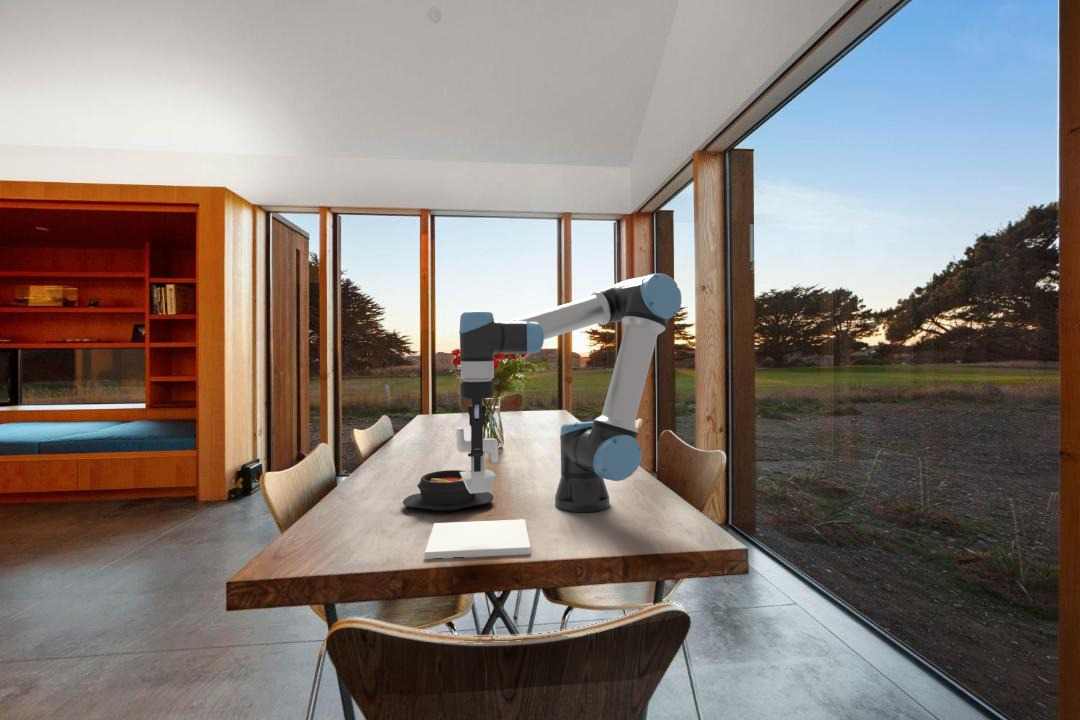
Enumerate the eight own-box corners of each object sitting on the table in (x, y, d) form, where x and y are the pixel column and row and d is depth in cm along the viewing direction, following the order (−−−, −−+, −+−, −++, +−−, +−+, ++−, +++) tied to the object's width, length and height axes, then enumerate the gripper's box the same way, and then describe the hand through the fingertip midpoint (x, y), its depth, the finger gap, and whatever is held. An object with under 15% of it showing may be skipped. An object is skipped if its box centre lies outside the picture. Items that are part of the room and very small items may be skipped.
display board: (524, 525, 127) (524, 519, 127) (530, 554, 109) (530, 547, 109) (434, 529, 125) (434, 523, 125) (424, 559, 107) (424, 552, 107)
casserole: (493, 494, 154) (493, 467, 154) (493, 514, 136) (493, 483, 135) (408, 497, 152) (408, 469, 152) (397, 518, 133) (396, 486, 133)
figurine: (502, 492, 114) (501, 425, 114) (459, 496, 112) (458, 427, 111) (494, 484, 121) (494, 421, 121) (454, 488, 118) (454, 423, 118)
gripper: (462, 378, 126) (463, 470, 126) (457, 383, 105) (458, 493, 106) (493, 377, 127) (494, 469, 127) (494, 382, 106) (495, 492, 106)
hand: (478, 480), depth 116 cm, fingers closed on figurine, 8 cm apart
